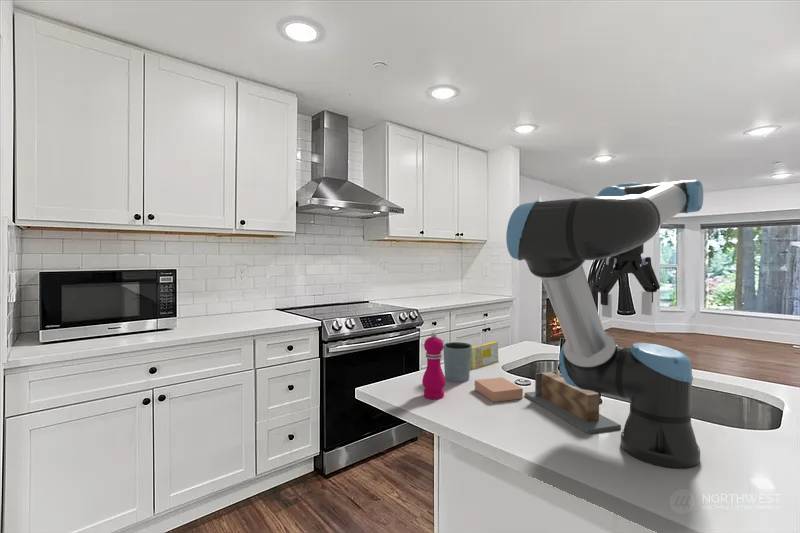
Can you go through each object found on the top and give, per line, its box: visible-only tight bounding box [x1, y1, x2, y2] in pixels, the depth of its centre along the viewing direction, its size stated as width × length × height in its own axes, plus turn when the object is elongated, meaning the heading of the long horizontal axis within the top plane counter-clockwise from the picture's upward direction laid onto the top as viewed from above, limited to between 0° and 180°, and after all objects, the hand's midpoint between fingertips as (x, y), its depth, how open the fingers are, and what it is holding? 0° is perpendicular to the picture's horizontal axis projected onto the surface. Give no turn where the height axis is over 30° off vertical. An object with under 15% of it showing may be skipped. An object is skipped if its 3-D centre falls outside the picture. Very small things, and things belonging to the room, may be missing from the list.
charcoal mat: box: [524, 391, 622, 434], centre depth 118 cm, size 28×10×1 cm, turn 16°
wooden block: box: [534, 370, 600, 422], centre depth 118 cm, size 21×7×7 cm, turn 16°
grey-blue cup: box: [442, 341, 473, 383], centre depth 147 cm, size 10×10×12 cm
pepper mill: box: [421, 331, 447, 400], centre depth 130 cm, size 7×7×20 cm
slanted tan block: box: [474, 377, 524, 403], centre depth 132 cm, size 4×10×12 cm
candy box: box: [470, 341, 499, 370], centre depth 165 cm, size 16×2×8 cm, turn 130°
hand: (626, 315), depth 117 cm, fingers open, 13 cm apart
